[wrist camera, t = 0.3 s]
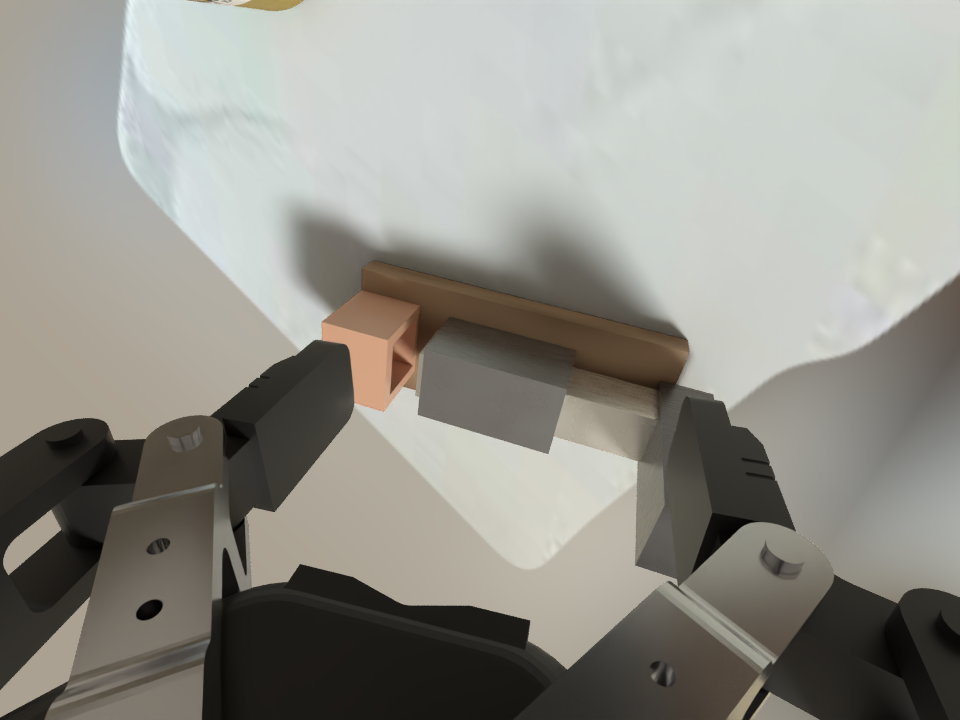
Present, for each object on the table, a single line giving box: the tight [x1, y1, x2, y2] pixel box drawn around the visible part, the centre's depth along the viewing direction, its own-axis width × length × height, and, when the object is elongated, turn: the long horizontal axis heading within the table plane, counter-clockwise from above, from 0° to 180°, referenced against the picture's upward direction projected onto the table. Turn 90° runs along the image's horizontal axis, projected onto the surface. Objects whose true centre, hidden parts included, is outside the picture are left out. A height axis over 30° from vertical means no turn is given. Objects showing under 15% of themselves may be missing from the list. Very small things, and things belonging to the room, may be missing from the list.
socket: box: [322, 290, 420, 412], centre depth 32 cm, size 5×4×5 cm
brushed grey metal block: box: [416, 330, 714, 579], centre depth 27 cm, size 4×16×10 cm, turn 82°
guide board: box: [362, 261, 689, 390], centre depth 33 cm, size 8×20×2 cm, turn 82°
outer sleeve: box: [418, 317, 577, 454], centre depth 30 cm, size 5×8×4 cm, turn 82°
